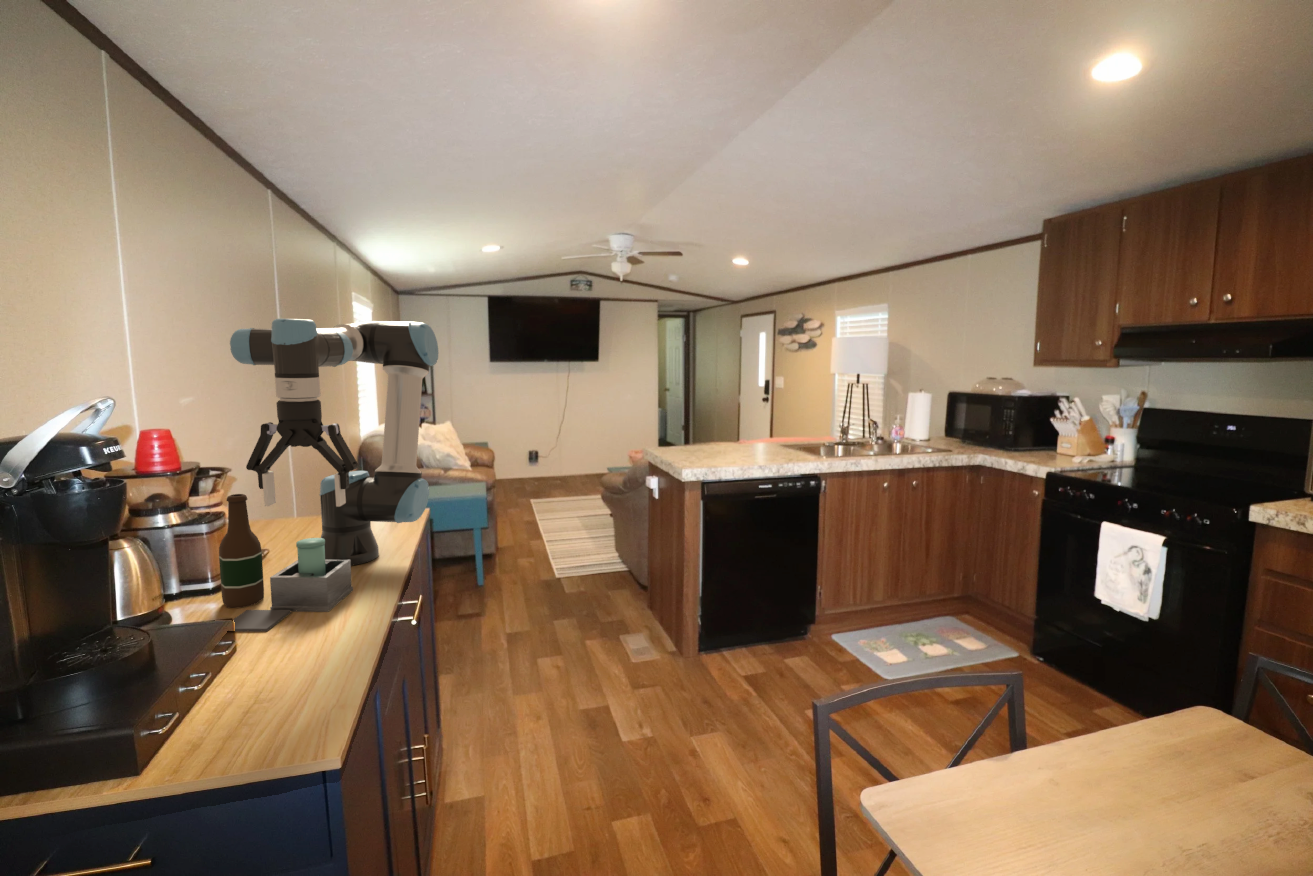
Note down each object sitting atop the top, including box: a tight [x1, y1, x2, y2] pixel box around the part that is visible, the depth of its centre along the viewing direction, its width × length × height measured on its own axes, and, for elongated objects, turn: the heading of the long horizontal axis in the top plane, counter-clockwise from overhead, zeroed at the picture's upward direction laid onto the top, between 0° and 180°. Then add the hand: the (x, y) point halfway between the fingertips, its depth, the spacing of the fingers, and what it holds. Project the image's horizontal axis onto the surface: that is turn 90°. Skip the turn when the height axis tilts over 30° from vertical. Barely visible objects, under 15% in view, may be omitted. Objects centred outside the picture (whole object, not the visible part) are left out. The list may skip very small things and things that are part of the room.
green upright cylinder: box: [296, 537, 326, 576], centre depth 135 cm, size 9×6×10 cm, turn 3°
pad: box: [233, 609, 292, 633], centre depth 125 cm, size 9×9×1 cm
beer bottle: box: [218, 493, 265, 609], centre depth 133 cm, size 8×8×24 cm
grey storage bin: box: [269, 559, 354, 613], centre depth 135 cm, size 12×12×8 cm
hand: (305, 504), depth 122 cm, fingers open, 13 cm apart
